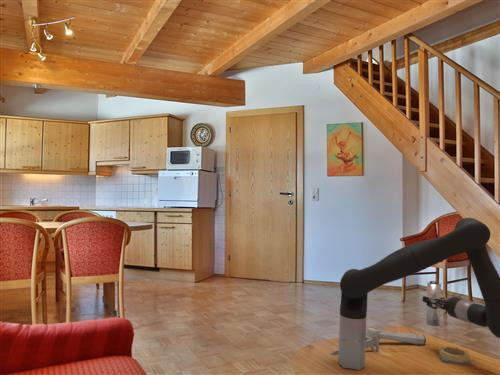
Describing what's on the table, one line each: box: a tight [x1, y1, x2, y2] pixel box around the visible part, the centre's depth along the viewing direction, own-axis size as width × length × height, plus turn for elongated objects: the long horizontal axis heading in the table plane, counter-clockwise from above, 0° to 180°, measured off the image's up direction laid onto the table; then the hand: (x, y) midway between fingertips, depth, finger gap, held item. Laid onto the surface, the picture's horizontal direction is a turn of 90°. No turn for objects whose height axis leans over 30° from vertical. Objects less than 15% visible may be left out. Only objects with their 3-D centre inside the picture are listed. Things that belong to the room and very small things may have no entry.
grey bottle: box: [426, 280, 442, 327], centre depth 163 cm, size 5×5×17 cm
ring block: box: [437, 345, 473, 367], centre depth 154 cm, size 10×10×3 cm
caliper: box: [329, 335, 380, 356], centre depth 157 cm, size 20×1×6 cm, turn 106°
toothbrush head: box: [366, 327, 427, 347], centre depth 168 cm, size 5×7×25 cm
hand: (428, 298), depth 165 cm, fingers closed on grey bottle, 5 cm apart
